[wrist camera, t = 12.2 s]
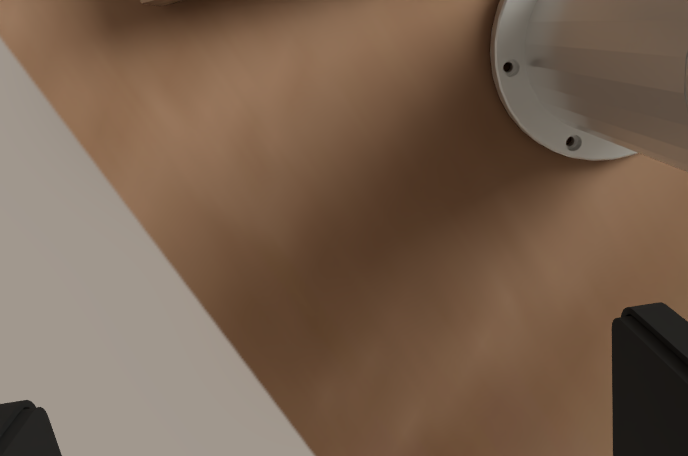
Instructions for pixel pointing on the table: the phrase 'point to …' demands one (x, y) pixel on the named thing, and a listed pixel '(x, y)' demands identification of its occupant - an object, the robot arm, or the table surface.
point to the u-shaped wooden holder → (159, 2)
